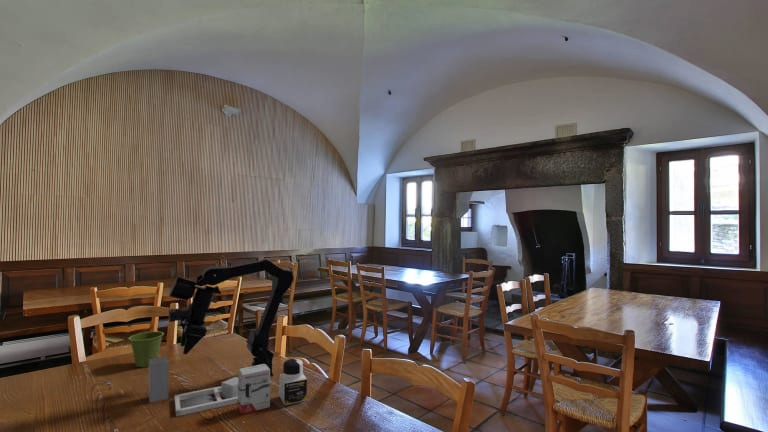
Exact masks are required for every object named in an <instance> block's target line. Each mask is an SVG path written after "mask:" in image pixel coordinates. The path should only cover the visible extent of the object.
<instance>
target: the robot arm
mask: <svg viewBox="0 0 768 432" xmlns="http://www.w3.org/2000/svg"><path fill="white" fill-rule="evenodd" d="M263 271H264V272H265V273H267V274H269V275H270V276H271V277H272V281H271V292H270V294H269V297H268V299H267V303H266V305H265V308H264V311H263V313H262V316H261V319H260V321H259V324H258V325H257V328H256V329H255V331H251V330H250V332H249V335H248V338H247V340H246V341H245V342H246V348H247V350H248V352H249V353H250V355H252V356H253V358H252V362H251V364H250V365H251V366H256V365H261V364H266V365H267V366H268V367H269V368H270V377H273V376H274V372H273V359H274V356H275V354H274V353H273V352H272V351H271V350H270V349H269V348H268V347H269V343H270V332H271V329H272V326H273V323H274V321H275V318H276V315H277V312H278V311H279V307H280V305H281V302H282V299H283V297H284V295H285V293H286V292H287V291H288V290H289V289H290V287H291V286H292V284H293V282H294V278H295V277H294V274H293V272H292V271H290V270H288V269H284V268H281V267H279V266H278V265H276V264H274V263H273V262H272V261H271V260H269V259H266V258H263V259H260V260H256V261H249V262H245V263H244V262H243V263H241V264H235V265H229V266H208V267H205V268H204V269H203V270H202V271H201V274H199V275H198V276H197V277H195V278H194V279H192V280H191V279H187V278H183V277H182V276H179V275H178V276H177V277H176V278H175V281H174V282H173V284H172V285H171V287H170V290H169V294H168V297H169V298H175V299H177V300H183V301H188V300H189V299H192V301H191V303H189V304H188V305H187V307H178V308H171V309H168V322H170V323H172V322H173V323H174V322H179V321H180V322H179V323H180V326H181V328H182V333H181V339H180V347H183V352H182V354H183V355H188V354H189V353H190V351H191V350H192V349H193V348H194V347H195V346H196V345H197V344H198V343H199V342H200V341H201V340H202V339H203V338H205V337H206V335H207V332H208V329H207V327H206V326H205V323H206V321H205V320H206V316H207V314H208V313H209V312H210V306H211V303H212V301H213V298H214V295H215V294H218V295H222V292H221V291H220V287H219V286H218V285H219V284H221V283H224V282H226V281H228V280H230V279H232V278H236V277H237V278H238V277H241V276H246V275H251V274H255V273H260V272H263ZM193 296H194V297H193ZM251 366H250V367H251Z"/></svg>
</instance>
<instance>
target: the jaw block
mask: <svg viewBox="0 0 768 432" xmlns="http://www.w3.org/2000/svg"><path fill="white" fill-rule="evenodd" d="M166 400H169V358H168V356H162V357H158V358H155V359H149V367H148V402H149V404H152V403H156V402H162V401H166Z"/></svg>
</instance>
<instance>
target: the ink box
mask: <svg viewBox="0 0 768 432" xmlns="http://www.w3.org/2000/svg"><path fill="white" fill-rule="evenodd" d="M237 377H238V403H237V409H238V410H239V411H238V412H240V414H241V415H243V414H248V413H253V412H257V411H259V410H264V409H267V408H270V407H271V376H270V368H269V367H268V366H267V365H266V364H261V365H256V366H247V367H243V368H239V369H238V375H237Z"/></svg>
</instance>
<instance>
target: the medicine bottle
mask: <svg viewBox="0 0 768 432" xmlns="http://www.w3.org/2000/svg"><path fill="white" fill-rule="evenodd" d="M303 365H304V362H303V361H302V359H298V358H290V359H287V360H285V361H284V362H283V367H282V369H283V371H282V372H283V373H280V374H279V377H278V378H279V382H278V383H279V385H278V386H279V389H278V390H279V392H278V393H279V396H278V397H279V398H280V400H281V402H282V404H283V405H284V406H288V405H293V404H298V403H302V402H306V401H307V400H308V399H307V398H308V393H307V392H308V378H307V377H306V376H305V374H304V371H303V370H304V369H303V368H304V367H303Z"/></svg>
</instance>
